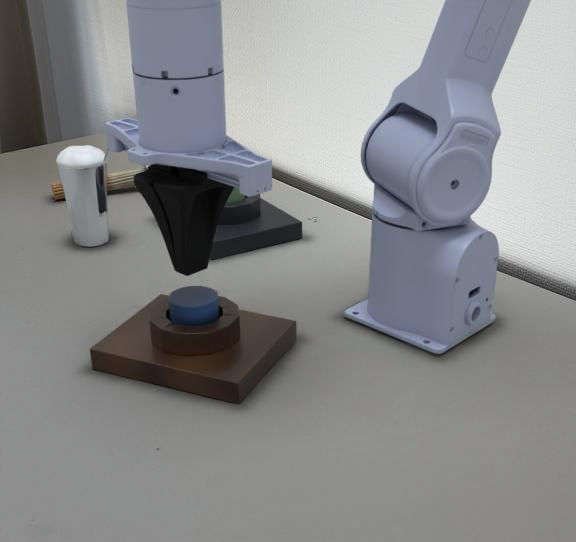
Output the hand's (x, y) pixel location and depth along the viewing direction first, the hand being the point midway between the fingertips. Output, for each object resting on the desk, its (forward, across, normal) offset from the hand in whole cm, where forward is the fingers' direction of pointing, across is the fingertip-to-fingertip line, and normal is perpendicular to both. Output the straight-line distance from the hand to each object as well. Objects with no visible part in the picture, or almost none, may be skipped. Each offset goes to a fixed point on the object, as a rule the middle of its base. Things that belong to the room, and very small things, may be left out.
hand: (191, 269), depth 62 cm
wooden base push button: (+7, 0, 0) cm, 7 cm away
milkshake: (+7, -24, +8) cm, 26 cm away
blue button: (+4, 0, 0) cm, 4 cm away
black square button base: (+7, -17, +19) cm, 26 cm away
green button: (+4, -17, +19) cm, 26 cm away
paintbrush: (+7, -33, +21) cm, 40 cm away
